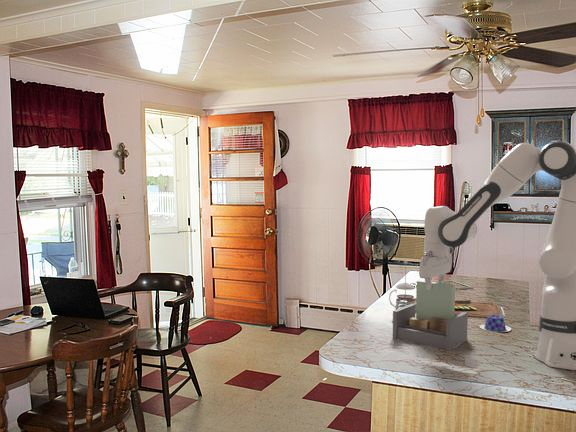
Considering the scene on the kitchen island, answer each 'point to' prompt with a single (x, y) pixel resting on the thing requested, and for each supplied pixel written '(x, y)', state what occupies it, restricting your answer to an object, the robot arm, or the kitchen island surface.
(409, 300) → the french press
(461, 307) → the chopping board
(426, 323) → the offcut oak
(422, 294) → the tall panel
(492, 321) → the pudding
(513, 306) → the kitchen island surface
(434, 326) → the offcut walnut
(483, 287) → the kitchen island surface
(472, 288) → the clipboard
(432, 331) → the rack
